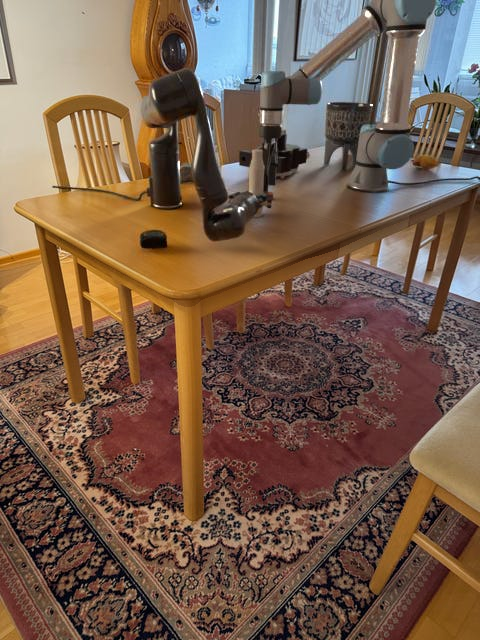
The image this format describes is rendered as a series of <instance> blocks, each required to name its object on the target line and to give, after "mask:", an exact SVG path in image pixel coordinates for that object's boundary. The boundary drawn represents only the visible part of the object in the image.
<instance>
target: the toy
mask: <svg viewBox="0 0 480 640" xmlns="http://www.w3.org/2000/svg"><path fill="white" fill-rule="evenodd" d="M410 161H411V163H412V166H414V167H418V168H421V169H424V170H431V169H435V168H437V167H439V166H440V161H438V160H435V158H434V156H432V155H429V154H424V155H419V156H416V157H414V159H410Z"/></svg>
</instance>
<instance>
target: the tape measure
mask: <svg viewBox="0 0 480 640" xmlns="http://www.w3.org/2000/svg"><path fill="white" fill-rule="evenodd" d="M167 236H168V235H167V234H166V232H165V231H164V230H161V229H147V230H144V231H143V232H141V233H140V235H139V240H140V241H139V245H140V246H139V247H141V248H142V249H146V250H157V249H167V248H168V240H167V239H168V237H167Z"/></svg>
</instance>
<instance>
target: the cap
mask: <svg viewBox="0 0 480 640" xmlns="http://www.w3.org/2000/svg"><path fill="white" fill-rule="evenodd" d="M268 195H271V197H272V201H273V199H274V192H272V191H268Z"/></svg>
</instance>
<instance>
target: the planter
mask: <svg viewBox="0 0 480 640" xmlns="http://www.w3.org/2000/svg"><path fill="white" fill-rule="evenodd" d="M373 107H374V106H373V104H372V103H367V102H353V101H333V102H327V103H326V109H325V124H324V125H325V126H324V139H325V144H324V156H323V157H324V158H323V165H325V166H328V165H330V163H331V158H332V156H333V154H334V153H335V151H336V150H337V149H340V148H341V150H342V153H341V166H340V170H341V172H345V171H347V167H348V166H347V165H348V159H349V154H348V152H349V150H350V151H351V153H352V154H351V157H352V158H351V159H352V160H351V161H352V166H353V167H355V165H356V158H357V151H358V143H359V134H360V131H361V127H362V126H363V125H370V121H371V116H372V112H373Z"/></svg>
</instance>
